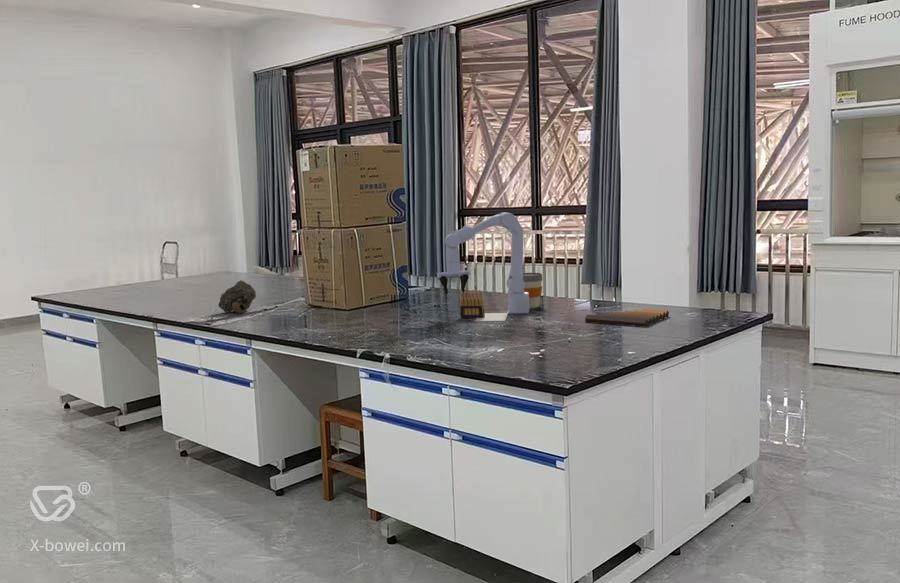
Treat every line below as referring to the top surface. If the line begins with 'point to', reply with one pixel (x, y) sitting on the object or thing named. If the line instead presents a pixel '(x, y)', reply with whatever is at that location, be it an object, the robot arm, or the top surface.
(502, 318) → the mat
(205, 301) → the top surface
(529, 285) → the reusable coffee cup
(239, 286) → the rock
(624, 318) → the pan flute
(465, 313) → the ammunition clip
